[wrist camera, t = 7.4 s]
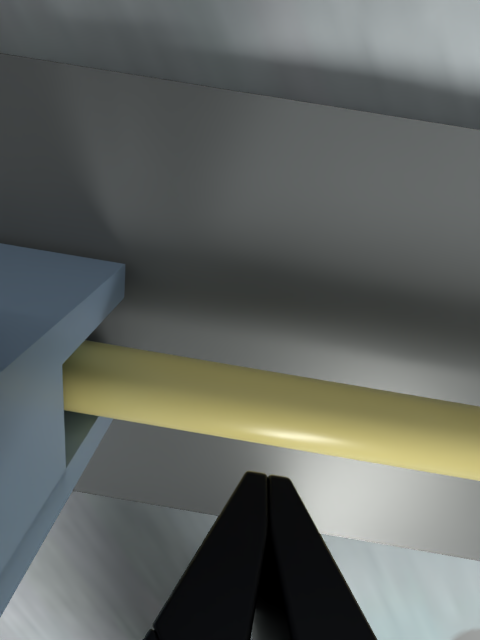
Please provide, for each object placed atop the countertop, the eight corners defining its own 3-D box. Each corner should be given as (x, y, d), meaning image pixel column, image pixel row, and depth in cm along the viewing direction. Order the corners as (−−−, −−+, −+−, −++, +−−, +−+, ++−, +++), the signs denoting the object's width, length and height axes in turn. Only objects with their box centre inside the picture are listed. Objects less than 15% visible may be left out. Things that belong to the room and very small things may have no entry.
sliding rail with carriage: (554, 551, 16) (692, 760, 11) (-92, 441, 17) (-268, 589, 11) (804, 184, 11) (1357, 238, 5) (-189, 25, 11) (-647, -80, 6)
